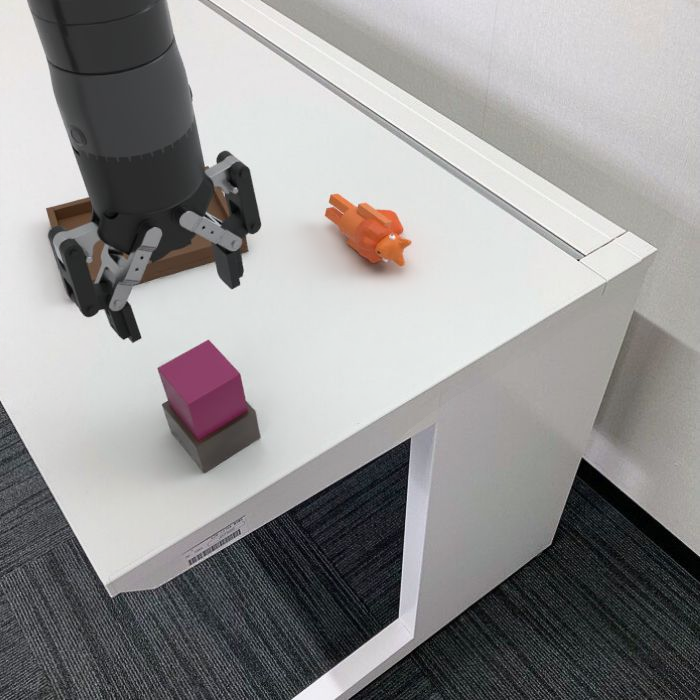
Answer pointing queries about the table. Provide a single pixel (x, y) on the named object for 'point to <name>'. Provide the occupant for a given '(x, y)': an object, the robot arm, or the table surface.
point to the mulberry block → (203, 389)
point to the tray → (173, 262)
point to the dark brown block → (215, 437)
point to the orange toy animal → (369, 230)
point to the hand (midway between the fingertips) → (181, 307)
